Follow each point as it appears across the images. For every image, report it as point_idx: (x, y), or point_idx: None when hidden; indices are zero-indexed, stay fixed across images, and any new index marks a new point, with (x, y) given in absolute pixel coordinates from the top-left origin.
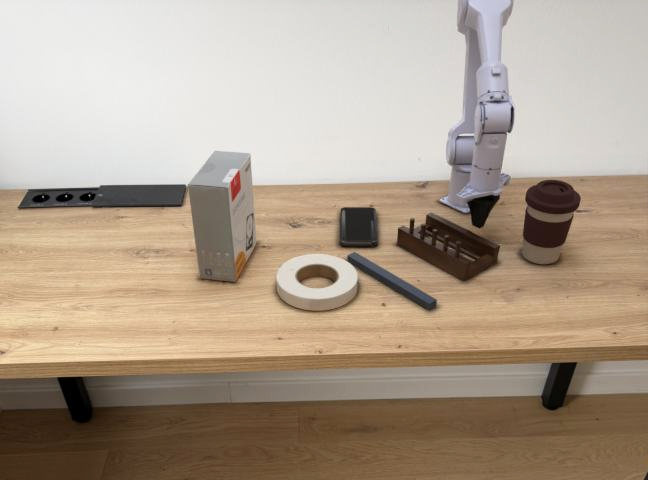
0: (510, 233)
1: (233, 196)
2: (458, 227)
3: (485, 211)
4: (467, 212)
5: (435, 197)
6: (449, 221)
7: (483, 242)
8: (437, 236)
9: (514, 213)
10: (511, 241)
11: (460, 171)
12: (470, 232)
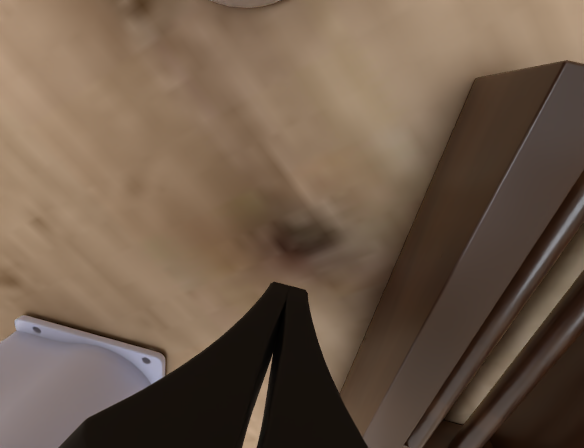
0: (155, 158)
1: None
2: (414, 386)
3: (302, 385)
4: (154, 352)
5: None
6: (372, 429)
7: (558, 205)
8: (452, 402)
9: (14, 216)
10: (214, 119)
11: None
12: (442, 322)
